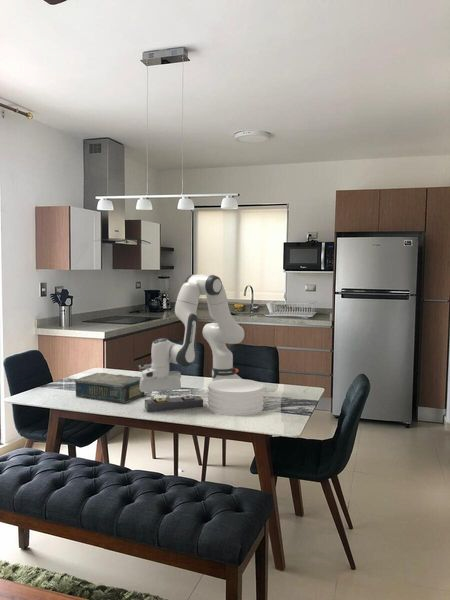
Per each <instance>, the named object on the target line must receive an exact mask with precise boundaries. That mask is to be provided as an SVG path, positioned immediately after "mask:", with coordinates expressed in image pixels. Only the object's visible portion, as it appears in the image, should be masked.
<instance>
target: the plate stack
mask: <svg viewBox="0 0 450 600" xmlns="http://www.w3.org/2000/svg"><path fill="white" fill-rule="evenodd" d="M264 387H265V386H264V384H263V383H262V382H259V381H257V380H253V379H244V378H242V379H222V380H216V381H212V380H211V381H210V382H209V383H207V409H208V411H211V412H212V413H216V414H220V415H225V416H248V415H255V414H257V413H258V414H259V413H260V412H262V411H263V410H264V389H265V388H264Z"/></svg>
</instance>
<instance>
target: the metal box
mask: <svg viewBox="0 0 450 600" xmlns="http://www.w3.org/2000/svg"><path fill="white" fill-rule="evenodd" d="M141 377H142V376H133V375H124V374H115V373H114V374H113V373H107V372H96V373H92V374H89V375H85V376H83V377H80V378H78V379H77V378H76V379H74V383H75V397H77V398H82V399H91V400H97V401H104V402H110V403H111V402H112V403H116V404H126V403H128V402H131V401H133V400H134V401H135V400H137V399H138V398H140V397H143V396H144V395H145V392H141V391H140V389H139V385H140V379H141Z"/></svg>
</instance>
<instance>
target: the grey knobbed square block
mask: <svg viewBox="0 0 450 600" xmlns="http://www.w3.org/2000/svg"><path fill="white" fill-rule="evenodd" d="M192 396H193V395H182V396H181V397H182V400H183V401H185V400H193V397H192Z"/></svg>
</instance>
